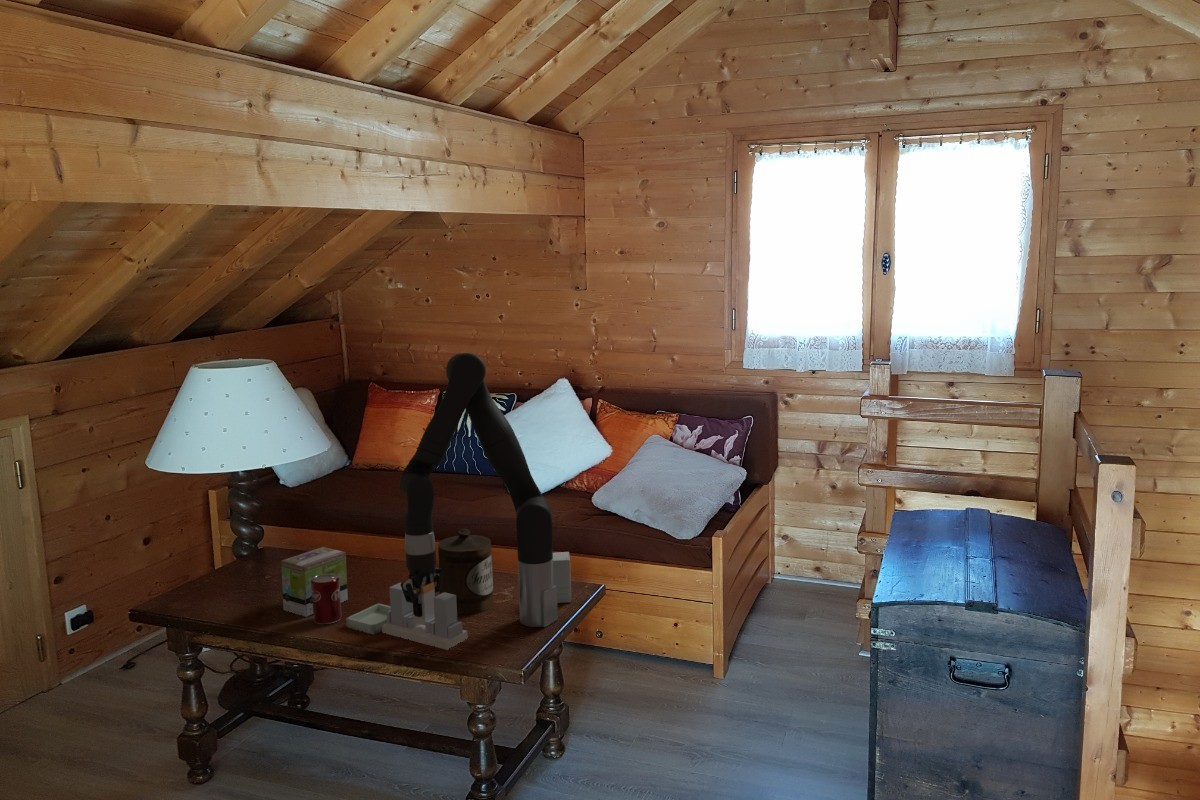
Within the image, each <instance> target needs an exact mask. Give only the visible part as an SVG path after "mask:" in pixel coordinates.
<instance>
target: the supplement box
mask: <svg viewBox="0 0 1200 800" xmlns="http://www.w3.org/2000/svg"><path fill="white" fill-rule="evenodd" d="M570 556H571V555H570V552H569V551H563V552H562V551H560V552H559V551H558V552H553V585H555V586H557V604H561V603H562V604H563V603H564V604H566V603H571V602H572V583H571V581H572V579H571V577H572V576H571V558H570Z"/></svg>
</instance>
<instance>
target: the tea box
mask: <svg viewBox="0 0 1200 800" xmlns="http://www.w3.org/2000/svg"><path fill="white" fill-rule="evenodd" d="M346 555H347V553H346V552H345V551H342V550H339V549H333V548H330V547H329V548H328V547H325V546H322V547H319V548H315V549H312V550H309V551H306V552H303V553H301V554H297V555H295V556H291V557H288V558H284V559H282V560H281V561H280V562H281V563H280V565H281V566H280V567H281V582H282V583H281V584H282V603H283V607H282V608H283V611H285V612H288V611H289V613H291V612H292V614H294V613H295V615H298V616H301V615H302V617H305V618H307V617H309V616H311V615H313V603H312V589H311V580H312V579H313V577H315V576H317V575H321V574H335V575H337V576H338V577H339V583H340V598H341V604H342V603H344V601H345V602H347V601H348V600H349V596H348V594H349V592H348V575H347V573H348V572H347V556H346ZM346 600H347V601H346Z"/></svg>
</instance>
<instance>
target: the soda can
mask: <svg viewBox="0 0 1200 800" xmlns="http://www.w3.org/2000/svg"><path fill="white" fill-rule="evenodd" d="M311 589H312V603H313V614H312V616H313V621H314V622H315V624H317V625H320V624H329V625H333V624H335V622H336V623H338V622H339V621H340V620H341V619H342V617H343V616H342V603H341V598H340V583H339V577H338V576H337V575H335V574H321V575H317V576H315V577H313V579H312V580H311ZM337 621H338V622H337ZM332 623H333V624H332Z"/></svg>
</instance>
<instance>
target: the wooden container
mask: <svg viewBox="0 0 1200 800" xmlns="http://www.w3.org/2000/svg"><path fill="white" fill-rule="evenodd" d="M437 545H438V547H437V550H438V551H437V552H438V568H440V569H443V574H442V581H441V587H440V591H439V592H438V593H439V594H442V593H444V592H445V593H449V594H454V595H456V602H457V615H472V614H477V613H481V612H483V611H486V610H488V609H490V608H492V606H493V605H494V582H493V581H494V580H493V579H494V577H493V576H494V575H493V561H492V560H493V559H492V541H491V539H490V538H489V537H486V536H483V535H479V534H471V530H470V529H468V528H460V529H459V530H458V531H457V535H454V536H450V537H445V538H443V539H441V540H440V541H439V542H438V544H437Z"/></svg>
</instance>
